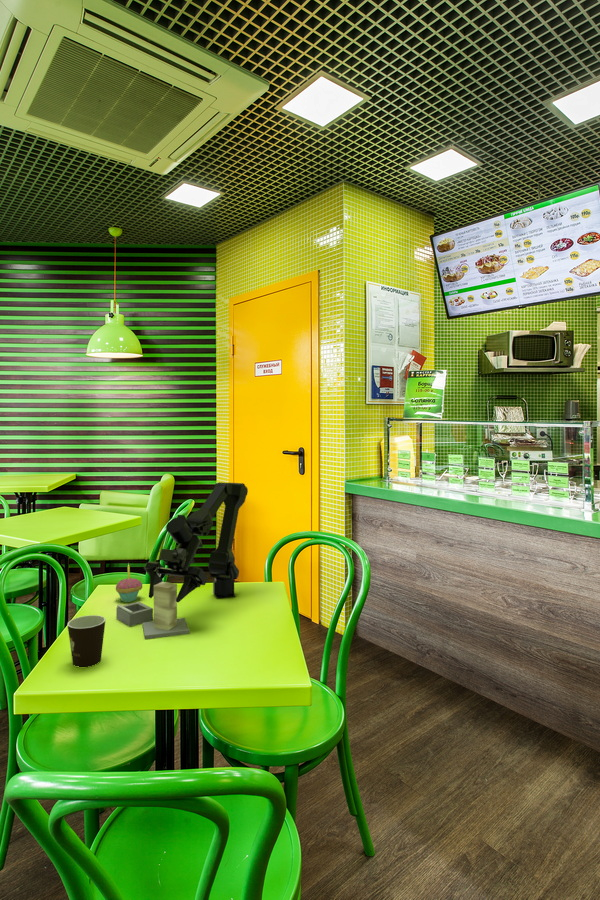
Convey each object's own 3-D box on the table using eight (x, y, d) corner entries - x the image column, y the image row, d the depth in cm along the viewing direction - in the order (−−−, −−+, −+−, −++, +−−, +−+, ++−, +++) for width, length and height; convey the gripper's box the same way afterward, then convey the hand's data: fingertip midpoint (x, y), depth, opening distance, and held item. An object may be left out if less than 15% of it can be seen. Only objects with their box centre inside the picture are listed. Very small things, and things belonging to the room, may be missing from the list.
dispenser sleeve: (139, 612, 161) (139, 599, 161) (152, 620, 155) (152, 605, 155) (116, 618, 156) (116, 604, 155) (129, 626, 150) (129, 611, 149)
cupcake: (114, 597, 175) (114, 562, 174) (140, 594, 178) (140, 560, 178) (117, 605, 167) (116, 568, 167) (144, 602, 171) (144, 566, 170)
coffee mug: (104, 667, 124) (104, 626, 124) (65, 671, 122) (64, 630, 121) (107, 647, 135) (107, 609, 135) (72, 651, 133) (71, 612, 133)
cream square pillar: (162, 622, 150) (162, 581, 150) (176, 625, 148) (176, 583, 148) (153, 627, 147) (153, 585, 146) (168, 630, 145) (168, 587, 144)
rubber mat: (184, 621, 154) (184, 617, 154) (189, 633, 145) (189, 630, 145) (142, 625, 150) (142, 622, 150) (144, 639, 141) (144, 635, 141)
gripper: (147, 534, 154) (122, 581, 144) (202, 540, 147) (179, 589, 137) (163, 554, 162) (141, 600, 152) (216, 560, 155) (195, 609, 145)
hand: (163, 599), depth 146 cm, fingers open, 9 cm apart
